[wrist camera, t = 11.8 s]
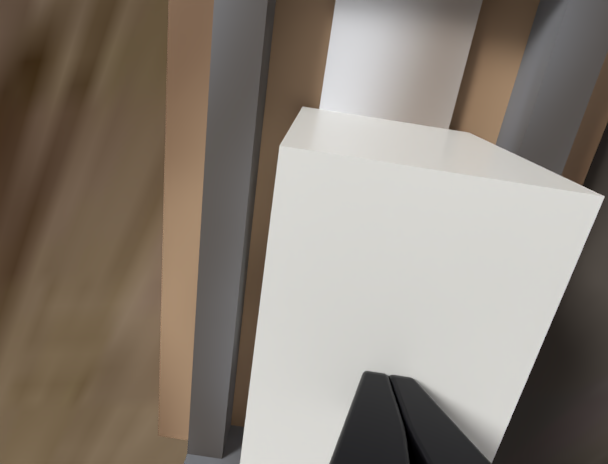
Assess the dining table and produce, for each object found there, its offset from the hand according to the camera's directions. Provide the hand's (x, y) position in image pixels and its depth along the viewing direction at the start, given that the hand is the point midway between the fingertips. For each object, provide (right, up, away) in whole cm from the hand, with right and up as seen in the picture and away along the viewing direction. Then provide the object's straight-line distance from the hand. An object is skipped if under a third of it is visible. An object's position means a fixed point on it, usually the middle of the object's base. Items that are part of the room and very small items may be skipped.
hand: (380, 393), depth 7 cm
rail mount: (0, +3, +7) cm, 7 cm away
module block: (0, +2, +6) cm, 6 cm away
